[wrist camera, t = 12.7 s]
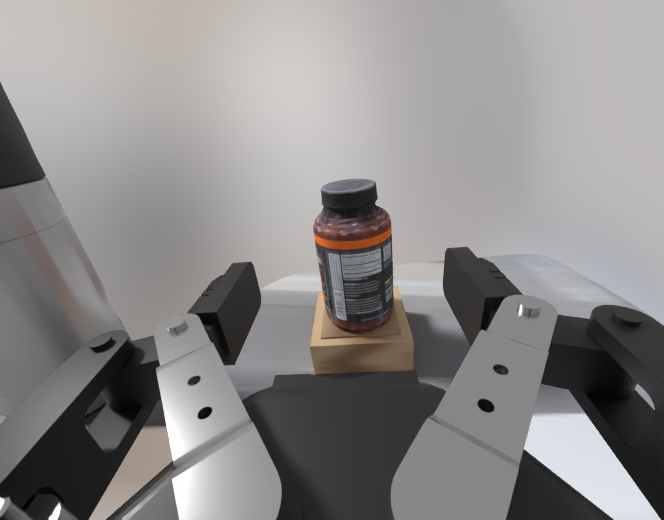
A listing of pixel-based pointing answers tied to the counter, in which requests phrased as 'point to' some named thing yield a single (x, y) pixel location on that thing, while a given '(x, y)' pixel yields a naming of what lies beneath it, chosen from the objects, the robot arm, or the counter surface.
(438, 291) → the counter surface
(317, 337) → the oak base
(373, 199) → the supplement bottle
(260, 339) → the counter surface
